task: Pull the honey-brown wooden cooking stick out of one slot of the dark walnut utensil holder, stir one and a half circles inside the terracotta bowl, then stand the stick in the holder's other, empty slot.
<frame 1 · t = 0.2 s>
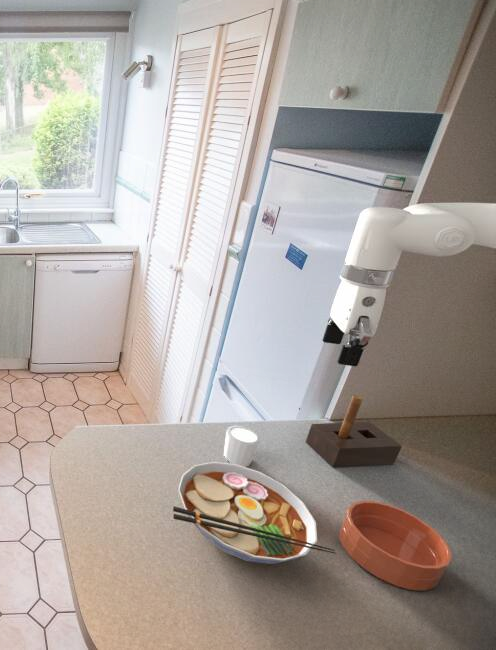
hand: (338, 353, 93), 29 cm above the countertop, tool pointing down, fingers open, 9 cm apart
ramen bowl: (235, 533, 87), on the countertop
mixing bowl: (385, 555, 82), on the countertop
stick: (336, 453, 107), resting in holder
shot glass: (236, 459, 106), on the countertop
holder: (347, 453, 107), on the countertop
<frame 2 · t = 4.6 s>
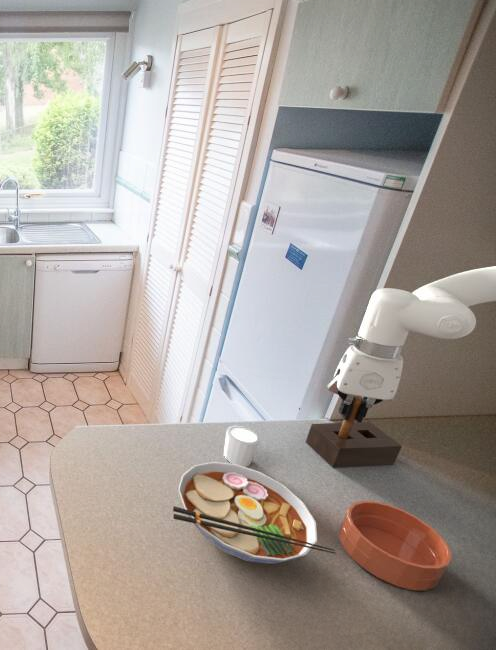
hand: (350, 417, 103), 11 cm above the countertop, tool pointing down, fingers closed on stick, 1 cm apart
stick: (336, 453, 107), resting in holder, touching gripper
everything else where it was.
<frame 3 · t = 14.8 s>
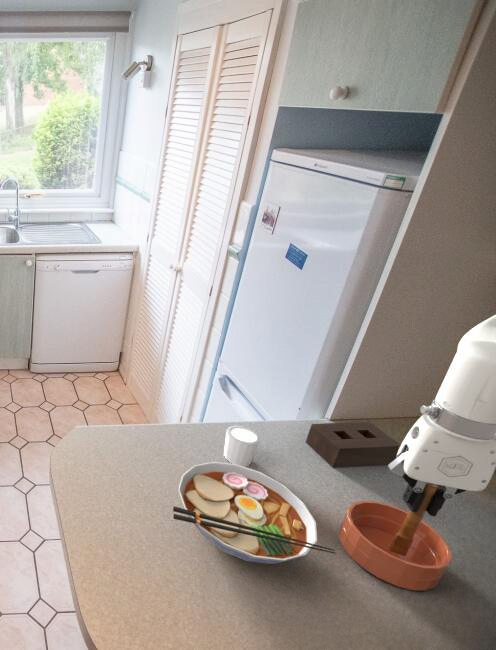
hand: (418, 507, 77), 13 cm above the countertop, tool pointing down, fingers closed on stick, 1 cm apart
stick: (396, 552, 81), point 2 cm above the countertop, touching gripper
everything else where it was.
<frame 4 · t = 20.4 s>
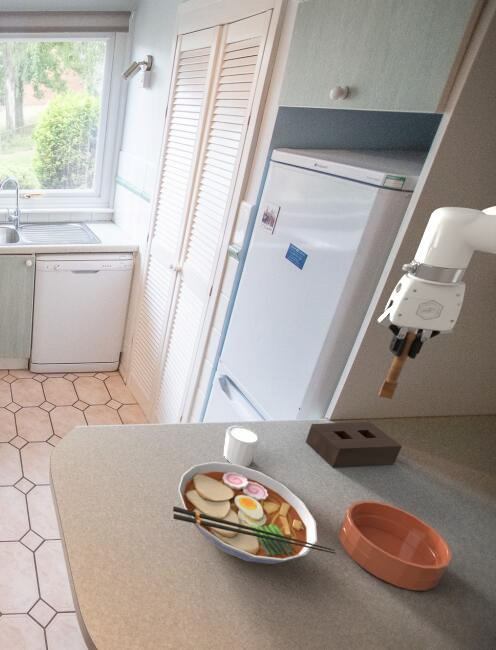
hand: (402, 354, 96), 27 cm above the countertop, tool pointing down, fingers closed on stick
stick: (384, 396, 100), point 17 cm above the countertop, touching gripper
everything else where it was.
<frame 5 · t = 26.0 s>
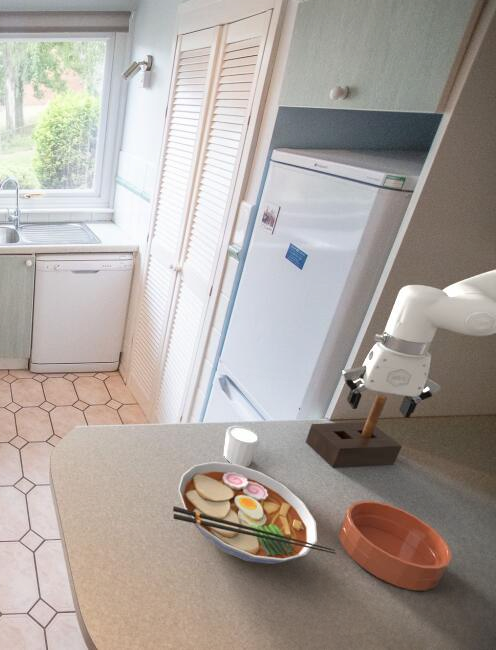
hand: (377, 409, 103), 12 cm above the countertop, tool pointing down, fingers open, 9 cm apart
stick: (359, 452, 107), resting in holder
everything else where it was.
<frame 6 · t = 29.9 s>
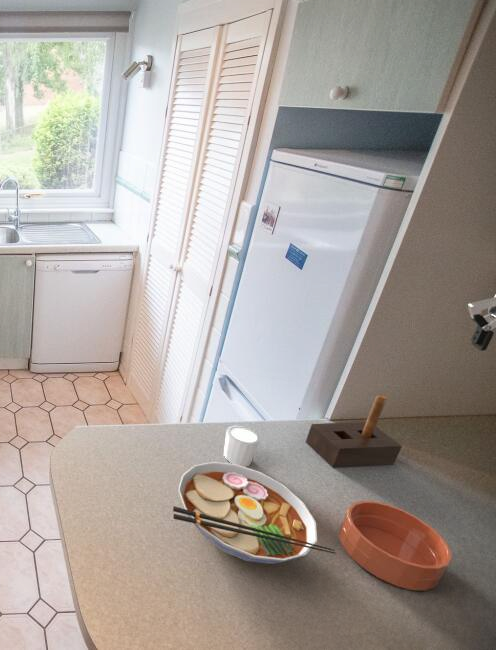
nothing on the countertop moved.
at the end: stick 0.2 cm from the target spot in the holder, point 0.0 cm above the holder's base; stick tilted 0°; stick touching countertop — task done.
